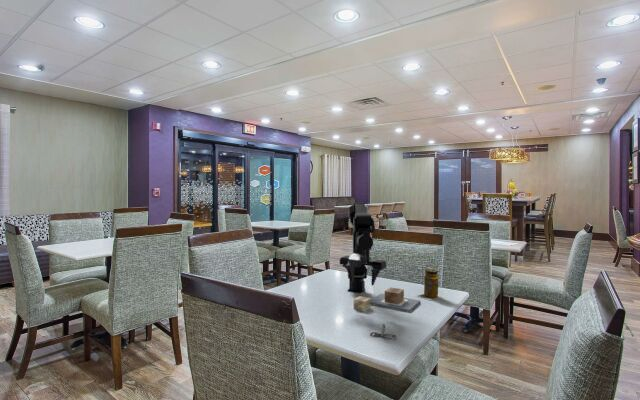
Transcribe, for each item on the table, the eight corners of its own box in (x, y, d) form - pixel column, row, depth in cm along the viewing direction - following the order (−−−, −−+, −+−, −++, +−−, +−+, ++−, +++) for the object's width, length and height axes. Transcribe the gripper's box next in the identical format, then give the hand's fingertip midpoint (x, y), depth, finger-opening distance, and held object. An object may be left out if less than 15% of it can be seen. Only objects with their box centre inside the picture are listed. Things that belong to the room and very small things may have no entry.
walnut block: (384, 301, 148) (384, 291, 148) (390, 297, 154) (390, 287, 154) (398, 304, 145) (398, 293, 145) (403, 299, 151) (403, 289, 151)
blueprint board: (368, 304, 148) (368, 301, 148) (380, 295, 160) (381, 293, 160) (409, 312, 139) (409, 309, 139) (420, 302, 150) (420, 300, 150)
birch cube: (353, 308, 143) (353, 299, 143) (359, 305, 147) (359, 296, 147) (364, 311, 140) (364, 301, 140) (370, 308, 144) (370, 298, 144)
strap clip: (397, 337, 116) (397, 324, 116) (395, 341, 113) (395, 328, 113) (371, 333, 119) (371, 321, 119) (369, 336, 116) (369, 324, 116)
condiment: (442, 297, 158) (442, 271, 158) (429, 300, 154) (430, 273, 153) (429, 293, 165) (429, 268, 164) (416, 296, 160) (417, 270, 160)
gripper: (333, 245, 141) (332, 284, 141) (376, 250, 131) (375, 292, 131) (346, 242, 150) (345, 278, 151) (387, 246, 140) (386, 285, 141)
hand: (362, 283), depth 143 cm, fingers open, 9 cm apart
